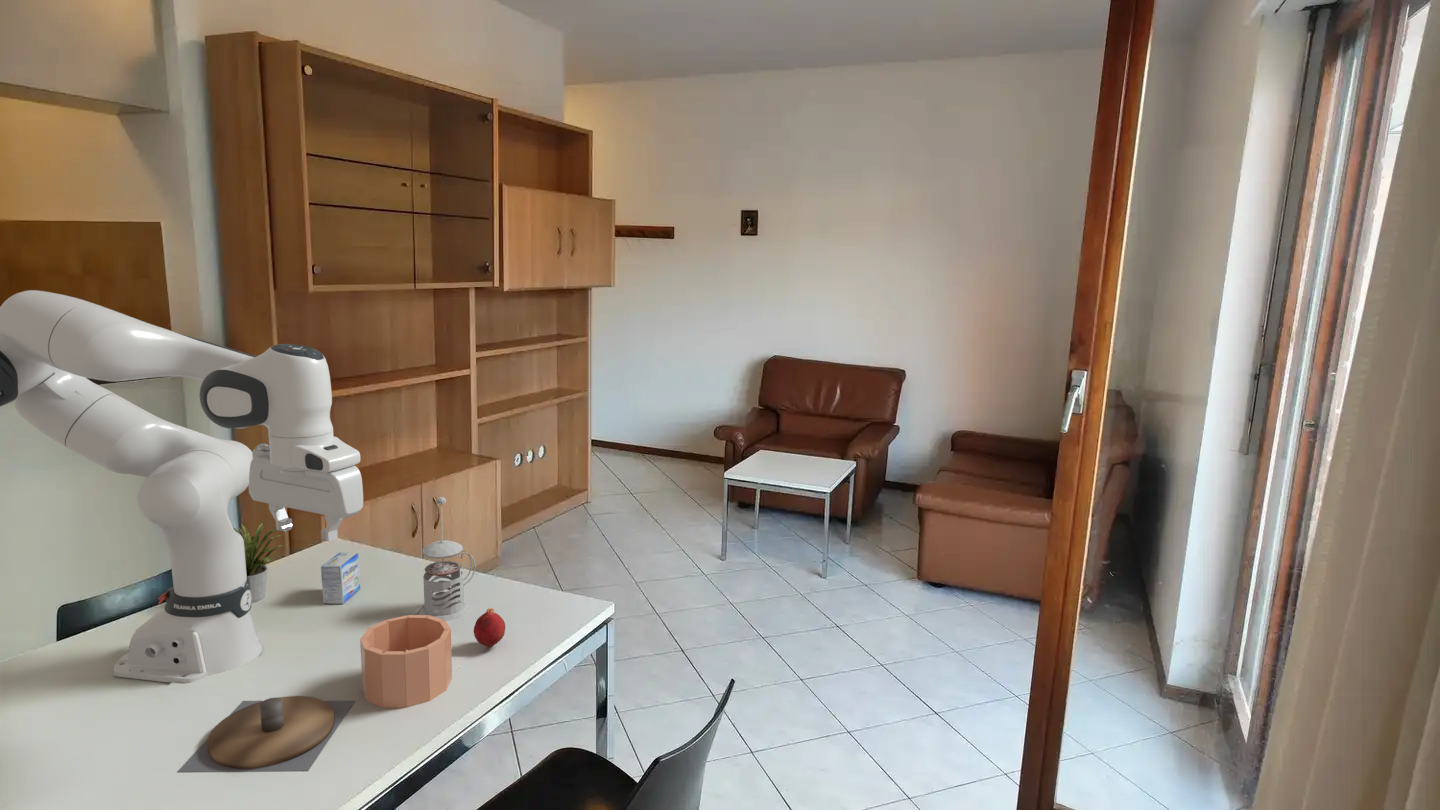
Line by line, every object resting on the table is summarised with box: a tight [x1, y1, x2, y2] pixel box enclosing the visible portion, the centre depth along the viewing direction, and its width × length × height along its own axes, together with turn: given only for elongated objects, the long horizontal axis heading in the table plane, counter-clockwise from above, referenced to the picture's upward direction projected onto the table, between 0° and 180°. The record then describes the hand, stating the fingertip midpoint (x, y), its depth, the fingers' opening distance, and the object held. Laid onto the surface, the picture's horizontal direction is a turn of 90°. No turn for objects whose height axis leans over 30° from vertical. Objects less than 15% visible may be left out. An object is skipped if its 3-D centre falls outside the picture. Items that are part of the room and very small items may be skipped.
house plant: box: [233, 522, 284, 604], centre depth 166 cm, size 14×14×16 cm
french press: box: [418, 496, 476, 622], centre depth 163 cm, size 10×12×25 cm
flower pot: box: [359, 614, 453, 709], centre depth 135 cm, size 14×14×10 cm
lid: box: [207, 695, 334, 769], centre depth 121 cm, size 17×17×5 cm
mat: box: [176, 700, 356, 773], centre depth 121 cm, size 18×18×1 cm
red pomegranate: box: [473, 607, 506, 649], centre depth 150 cm, size 6×6×8 cm
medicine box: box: [320, 551, 361, 605], centre depth 169 cm, size 8×4×9 cm, turn 179°
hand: (306, 535), depth 124 cm, fingers open, 8 cm apart
